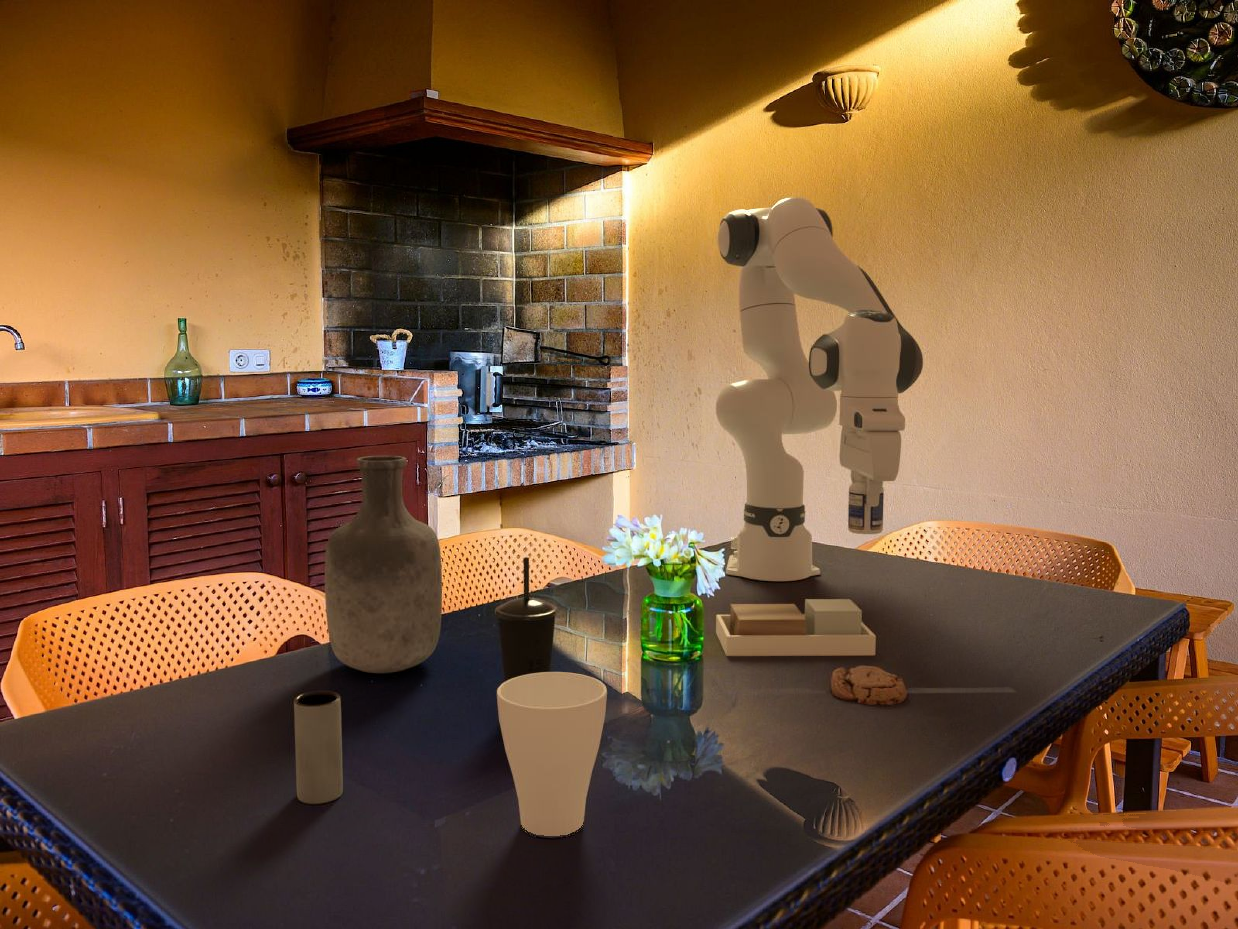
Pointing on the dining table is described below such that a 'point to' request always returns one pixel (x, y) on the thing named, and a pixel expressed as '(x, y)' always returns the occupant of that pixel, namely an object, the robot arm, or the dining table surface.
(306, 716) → the planter
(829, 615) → the pale green block
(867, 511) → the pill bottle
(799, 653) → the box
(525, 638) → the drinking cup
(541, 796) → the cup
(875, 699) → the cookie
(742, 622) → the walnut block
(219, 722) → the dining table surface
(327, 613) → the vase
